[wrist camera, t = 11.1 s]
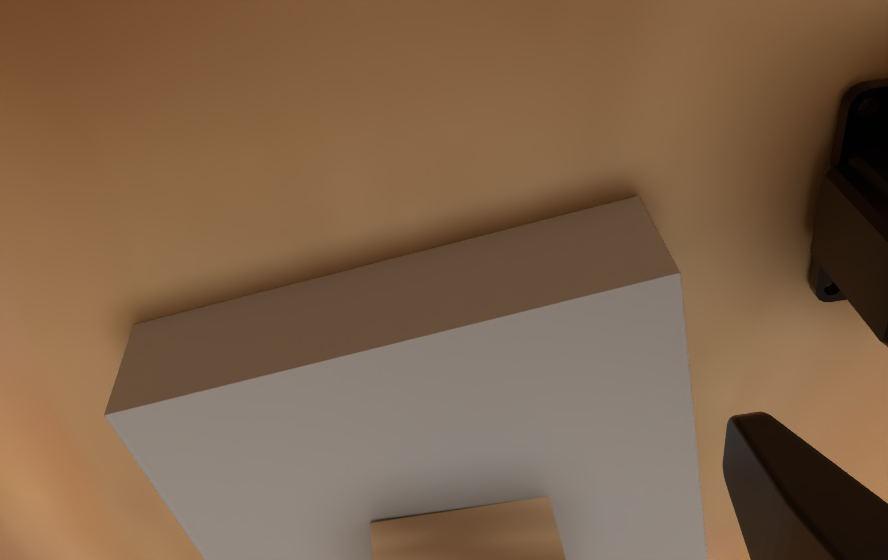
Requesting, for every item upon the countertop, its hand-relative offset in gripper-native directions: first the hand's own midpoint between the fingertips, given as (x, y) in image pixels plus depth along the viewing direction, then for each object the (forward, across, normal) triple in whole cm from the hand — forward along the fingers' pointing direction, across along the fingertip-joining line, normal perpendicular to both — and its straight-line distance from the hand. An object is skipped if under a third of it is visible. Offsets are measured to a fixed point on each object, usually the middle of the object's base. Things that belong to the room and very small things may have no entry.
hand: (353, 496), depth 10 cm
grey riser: (+13, -1, +14) cm, 19 cm away
